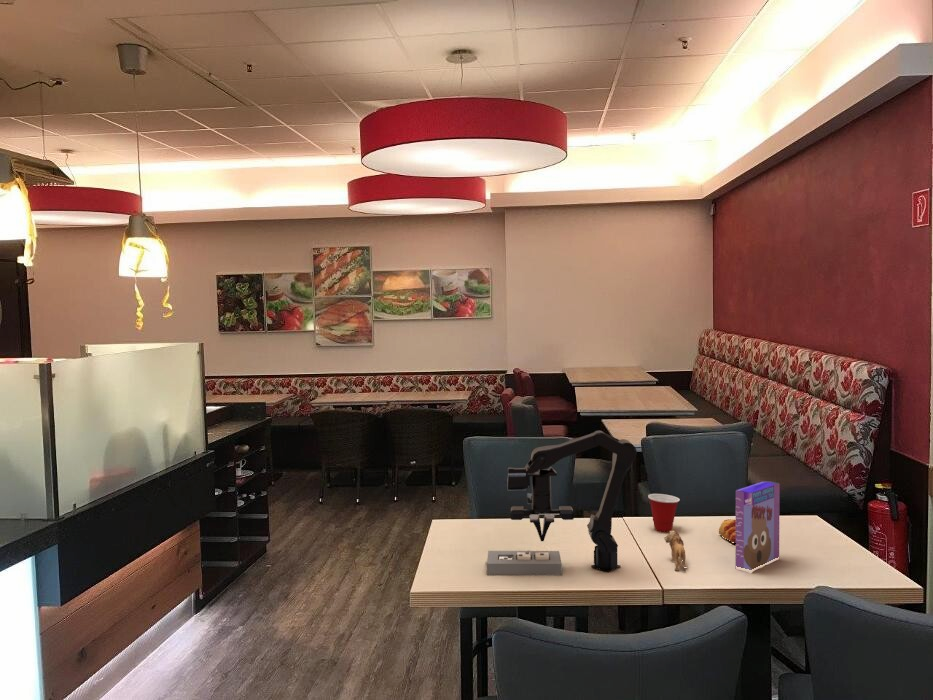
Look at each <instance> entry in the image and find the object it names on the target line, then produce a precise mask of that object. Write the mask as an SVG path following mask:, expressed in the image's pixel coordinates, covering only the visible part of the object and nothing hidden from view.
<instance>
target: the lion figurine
mask: <svg viewBox="0 0 933 700" xmlns="http://www.w3.org/2000/svg"><path fill="white" fill-rule="evenodd" d="M663 539H664V541H665V543H666V544H668V545H669V546H670V549H671V553H670V554H671V557H672V558H671V559H670V562H671V561H675V562H674V563H675V568H674V571H675V570H679V566H680V567H681V569H682V571H683V572H687V569H686V568H684V567H687V568H688V566H687V565H686V558H687V557H686V556H687V555H686V549H685V547H684V545H685V543H684V540H683V539H682V537H681V535H680V533H678V532H677V531H676V530H672V531H670V532H668V534H667V535H665V536H664V537H663ZM682 560H683V562H681V561H682ZM678 561H679V562H678Z"/></svg>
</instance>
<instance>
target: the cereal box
mask: <svg viewBox="0 0 933 700" xmlns="http://www.w3.org/2000/svg"><path fill="white" fill-rule="evenodd" d="M780 486H781V485H780V483H779V482H776V481H771V480H770V481H769V480H763V481H761V482H760V481H759V482H758V483H754V484H751V485H748V486H745V487H742V488H738V489H736V490H735V520H736V544H735V567H736V566H737V567H741V568H745V569H749V570H752V569H754V568H756V567H758V566H760V565H763V564H765V563H767V562H769V561H771V560H773V559H775V558H778V557H779V558H780V503H781V501H780V498H781V497H780V493H781V492H780Z"/></svg>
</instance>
